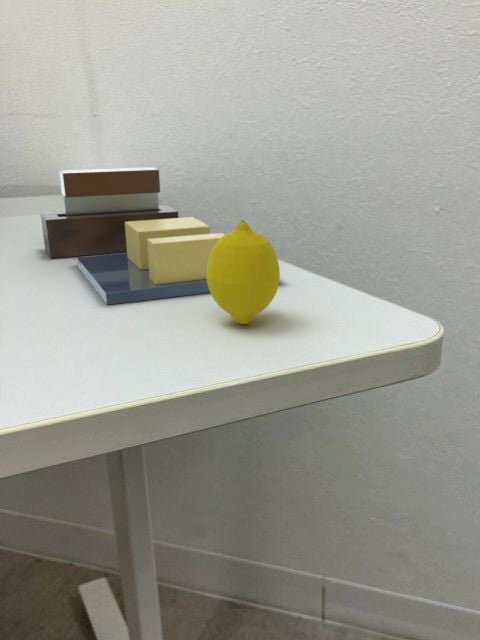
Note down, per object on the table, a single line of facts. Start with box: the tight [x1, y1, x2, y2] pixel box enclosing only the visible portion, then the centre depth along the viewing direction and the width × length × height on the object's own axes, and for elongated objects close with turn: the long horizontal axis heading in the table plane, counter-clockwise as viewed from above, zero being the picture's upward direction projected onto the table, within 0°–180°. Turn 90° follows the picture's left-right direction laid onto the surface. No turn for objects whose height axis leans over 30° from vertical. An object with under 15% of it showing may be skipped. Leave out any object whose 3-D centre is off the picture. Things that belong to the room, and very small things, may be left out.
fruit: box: [206, 219, 281, 325], centre depth 50 cm, size 6×6×8 cm
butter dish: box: [76, 252, 211, 306], centre depth 63 cm, size 16×13×1 cm
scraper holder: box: [40, 205, 179, 259], centre depth 72 cm, size 14×4×4 cm, turn 116°
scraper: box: [58, 166, 161, 217], centre depth 71 cm, size 10×2×8 cm, turn 116°
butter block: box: [125, 216, 211, 270], centre depth 64 cm, size 7×5×4 cm
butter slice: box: [147, 232, 226, 285], centre depth 59 cm, size 7×2×4 cm, turn 116°
